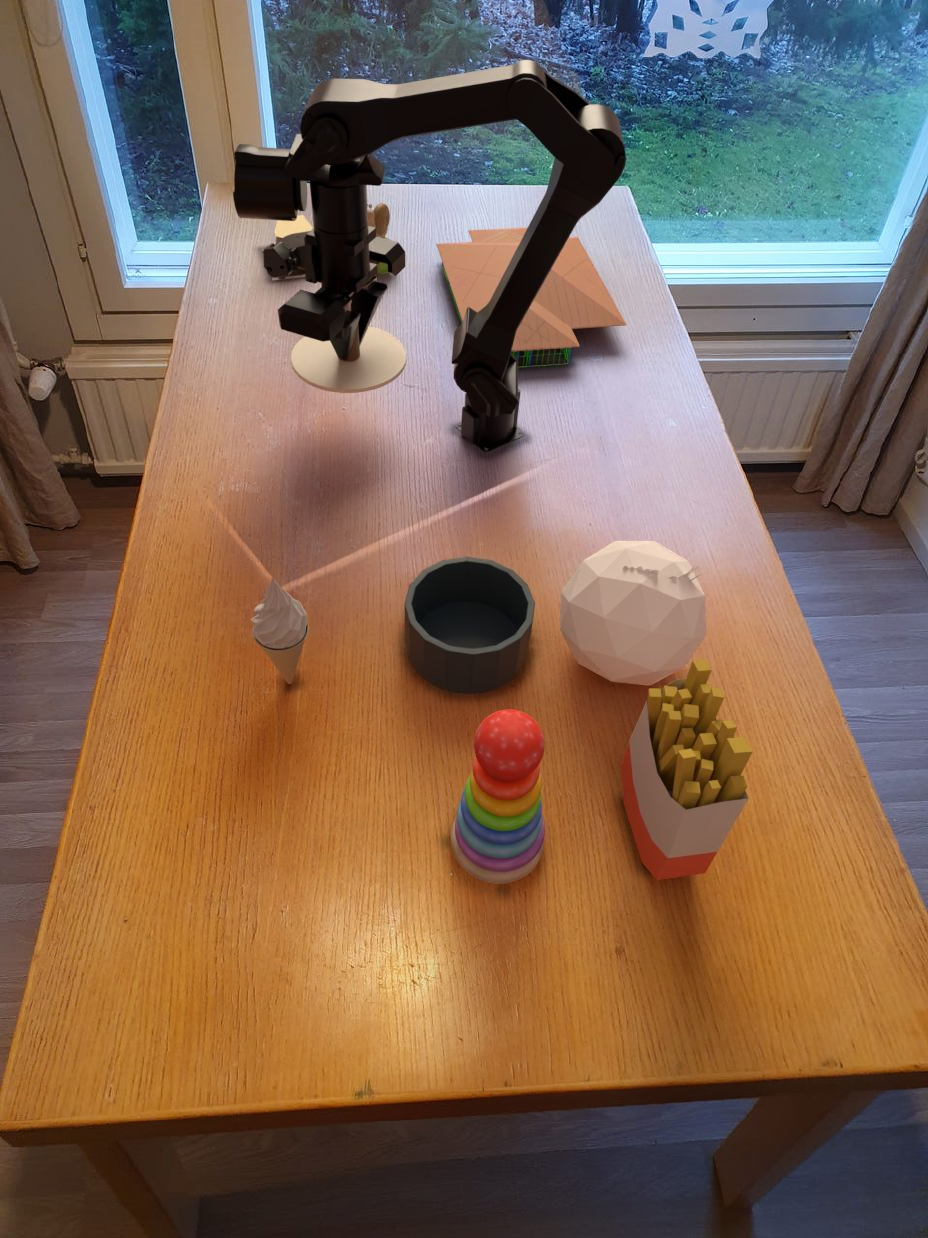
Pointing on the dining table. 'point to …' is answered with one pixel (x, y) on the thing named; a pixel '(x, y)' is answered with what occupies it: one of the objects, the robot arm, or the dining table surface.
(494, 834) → the stacking toy
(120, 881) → the dining table surface
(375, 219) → the snail figurine
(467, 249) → the house
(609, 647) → the geodesic sphere
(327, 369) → the round peg stand
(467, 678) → the container
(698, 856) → the french fries container
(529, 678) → the dining table surface
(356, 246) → the robot arm
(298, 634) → the ice cream cone
